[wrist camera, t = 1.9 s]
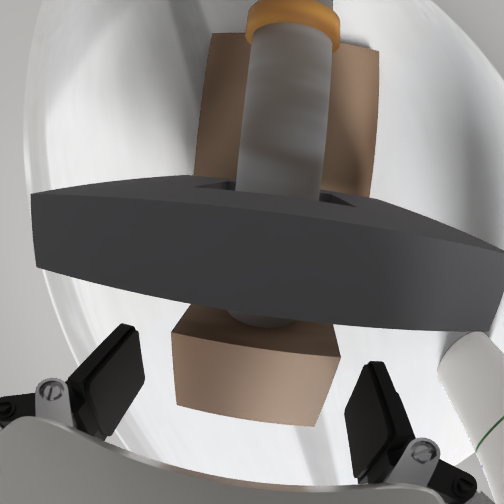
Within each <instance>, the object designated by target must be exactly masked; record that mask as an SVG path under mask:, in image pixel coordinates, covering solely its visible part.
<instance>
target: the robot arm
mask: <svg viewBox="0 0 504 504" xmlns="http://www.w3.org/2000/svg"><path fill="white" fill-rule="evenodd" d="M144 381H145V374H144V368H143V362H142V355H141V348H140V340H139V333H138V331H136V330H135V327H134V326H130V325H127V324H123V323H122V324H120V325H119V326H118V327H117V328H116V329H115V330H114V331H113V332H112V333H111V334H110V335H109V336H108V337H107V338H106V339H105V340H104V341H103V342H102V343H101V344H100V345H99V346H98V347H97V348H96V349H95V350H94V351H93V352H92V353H91V355H90V356H89V357H88V358H87V359H86V360H85V361H84V362H83V363H82V364H81V365H80V366H79V367H78V368H77V369H76V370H75V371H74V372H73V374H72V375H71V376H70V377H69V378H68V380H67V381H66V382H64V381H62V380H61V379H57V378H49V379H45V380H43V381H42V382H40V383H39V384H38V386H37V387H36V392H35V393H30V394H22V395H13V396H4V397H1V398H0V504H495V503H494V502H493V501H492V500H491V499H490V498H488V496H486V495H485V494H484V493H483V492H482V491H480V492H479V493H478V492H477V491H476V490H477V482H476V480H475V478H474V477H473V476H472V475H470V474H469V473H467V472H464V471H462V470H460V469H458V468H456V467H454V466H452V465H450V464H448V463H446V462H444V461H442V460H441V459H439V458H440V449H439V447H438V445H437V444H436V443H435V442H434V441H432V440H430V439H427V438H417V439H416V438H415V435H414V433H413V430H412V427H411V424H410V422H409V419H408V416H407V414H406V411H405V409H404V406H403V403H402V401H401V398H400V396H399V394H398V393H397V392H396V390H395V388H394V386H393V383H392V381H391V378H390V376H389V373H388V371H387V369H386V366H385V364H384V362H381V361H370V362H369V363H368V365H364V367H363V369H362V371H361V374H360V376H359V379H358V381H357V383H356V386H355V388H354V390H353V392H352V395H351V397H350V399H349V401H348V403H347V406H346V408H345V412H344V416H345V422H346V428H347V434H348V440H349V447H350V454H351V461H352V468H353V475H354V478H358V484H360V485H341V486H298V485H280V484H268V483H259V482H250V481H243V480H236V479H230V478H224V477H219V476H214V475H209V474H204V473H200V472H196V471H191V470H187V469H183V468H180V467H176V466H172V465H169V464H166V463H162V462H159V461H156V460H153V459H150V458H147V457H144V456H141V455H138V454H135V453H133V452H130V451H127V450H125V449H122V448H120V447H117V446H115V445H112V444H110V443H107V442H105V439H106V437H107V436H111V435H112V434H113V432H114V430H115V429H116V427H117V426H118V424H119V422H120V421H121V419H122V418H123V416H124V414H125V413H126V411H127V410H128V408H129V406H130V405H131V403H132V402H133V400H134V398H135V397H136V395H137V394H138V392H139V390H140V389H141V387H142V386H143V384H144ZM102 440H103V441H102ZM367 483H368V484H367Z"/></svg>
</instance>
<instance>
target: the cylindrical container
mask: <svg viewBox="0 0 504 504" xmlns="http://www.w3.org/2000/svg"><path fill="white" fill-rule="evenodd" d="M437 377H438V380H439V382H440V384H441V385H442V387H443V389H444V391H445V393H446V394H447V396H448V398H449V400H450V402H451V404H452V405H453V407H454V409H455V411H456V413H457V415H458V417H459V419H460V421H461V423H462V425H463V427H464V429H465V431H466V433H467V435H468V437H469V439H470V442H471V444H472V446H473V448H474V450H475V453H476V455H477V457H478V459H479V462H480V464H481V466H482V468H483V471H484V474H485V476H486V479H487V481H488V484H489V487H490V490H491V492H492V495H493V498H494V501H495V504H504V354H503V353H502V352H501V350H500V349H499V348H498V347H497V346H496V345H495V344H494V343H493V342H492V341H491V340H490V338H489V337H488V336H487V335H486V334H485V333H483V332H480V331H476V332H471V333H469V334H467V335H465V336H463V337H462V338H460V339H459V340H458V341H456V342H455V343H454V344H453V345H452V346H451V347H450V348H449V350H448V351H447V352H446V353H445V355H444V356H443V358H442V360H441V362H440V364H439V367H438V371H437Z"/></svg>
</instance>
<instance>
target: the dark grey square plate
mask: <svg viewBox="0 0 504 504" xmlns="http://www.w3.org/2000/svg"><path fill="white" fill-rule="evenodd" d="M235 188H236V179H230V178H218V177H205V176H191V175H179V176H164V177H152V178H140V179H130V180H121V181H112V182H103V183H96V184H88V185H81V186H74V187H68V188H62V189H56V190H50V191H44V192H39V193H34V194H31V217H32V231H33V242H34V250H35V259H36V266H37V267H38V268H41V269H45V270H48V271H52V272H55V273H59V274H63V275H66V276H70V277H74V278H78V279H81V280H85V281H89V282H93V283H97V284H101V285H105V286H109V287H114V288H118V289H122V290H127V291H131V292H136V293H140V294H145V295H149V296H154V297H159V298H164V299H169V300H174V301H179V302H184V303H190V304H195V305H201V306H206V307H212V308H218V309H224V310H230V311H236V312H243V313H249V314H256V315H263V316H270V317H277V318H285V319H293V320H301V321H309V322H318V323H328V324H338V325H348V326H360V327H372V328H386V329H403V330H424V331H489V329H490V326H491V324H492V322H493V319H494V317H495V314H496V312H497V309H498V306H499V304H500V301H501V298H502V295H503V292H504V251H503V250H501V249H499V248H497V247H495V246H493V245H491V244H489V243H487V242H485V241H482V240H480V239H478V238H476V237H474V236H471V235H469V234H467V233H465V232H462V231H460V230H458V229H455V228H453V227H450V226H448V225H446V224H443V223H441V222H438V221H436V220H433V219H431V218H428V217H425V216H423V215H420V214H418V213H415V212H412V211H410V210H407V209H404V208H401V207H398V206H396V205H393V204H390V203H387V202H384V201H381V200H378V199H374V198H368V197H363V196H357V195H352V194H346V193H340V192H334V191H327V190H321V189H320V194H319V201H314V200H307V199H300V198H293V197H285V196H277V195H269V194H261V193H252V192H242V191H235Z"/></svg>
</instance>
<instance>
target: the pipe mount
mask: <svg viewBox="0 0 504 504" xmlns="http://www.w3.org/2000/svg"><path fill="white" fill-rule="evenodd" d="M378 99H379V51H376V50H372V49H368V48H364V47H360V46H355V45H351V44H346V43H341V42H340V19H339V17H338V15H337V14H336V13H335V12H334V11H333V0H258V2H257V3H255V4H254V5H253V6H252V7H251V8H250V10H249V13H248V20H247V26H246V33H213V34H212V38H211V44H210V49H209V55H208V61H207V68H206V74H205V81H204V88H203V95H202V103H201V111H200V119H199V128H198V137H197V147H196V157H195V169H194V176H205V177H218V178H230V179H236V188H235V191H242V192H252V193H261V194H269V195H277V196H285V197H293V198H300V199H307V200H314V201H319V194H320V189H321V190H327V191H334V192H340V193H346V194H352V195H357V196H363V197H368V198H369V195H370V188H371V181H372V173H373V164H374V155H375V145H376V133H377V119H378ZM171 340H172V356H173V370H174V382H175V392H176V402H177V405H179V406H183V407H187V408H191V409H195V410H200V411H204V412H209V413H213V414H218V415H223V416H229V417H234V418H240V419H246V420H253V421H260V422H268V423H276V424H286V425H297V426H312V427H314V426H315V424H316V422H317V419H318V417H319V414H320V412H321V410H322V407H323V405H324V402H325V400H326V397H327V394H328V392H329V389H330V387H331V384H332V381H333V378H334V376H335V373H336V370H337V367H338V364H339V361H340V358H341V356H340V352H339V347H338V343H337V339H336V335H335V331H334V327H333V324H328V323H318V322H309V321H301V320H293V319H285V318H277V317H270V316H263V315H256V314H249V313H243V312H236V311H230V310H224V309H218V308H212V307H206V306H201V305H195V304H191V305H190V306H189V308H188V309H187V310H186V312H185V313H184V315H183V316H182V317H181V319H180V320H179V322H178V323H177V324H176V326H175V327H174V329H173V330H172V332H171Z"/></svg>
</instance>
